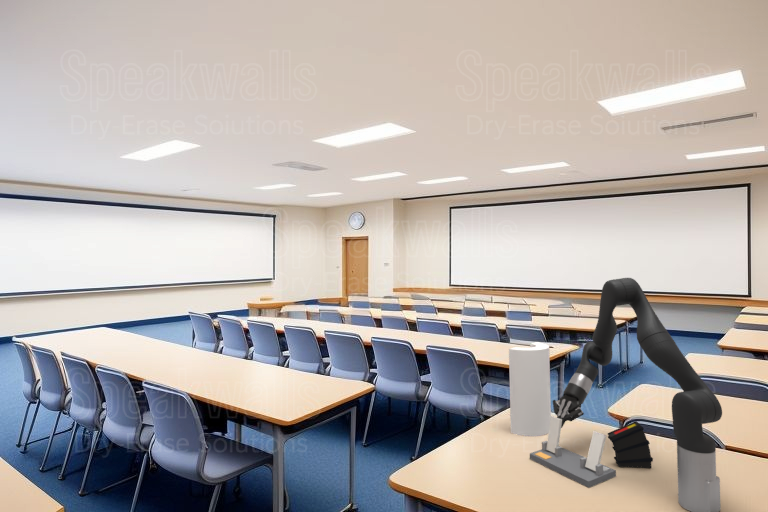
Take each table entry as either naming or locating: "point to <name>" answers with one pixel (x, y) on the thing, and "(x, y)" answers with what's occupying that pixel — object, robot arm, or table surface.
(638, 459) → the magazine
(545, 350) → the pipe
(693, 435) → the robot arm
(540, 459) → the switch panel
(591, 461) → the inner lever
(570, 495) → the table surface
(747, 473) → the table surface
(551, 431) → the outer lever
